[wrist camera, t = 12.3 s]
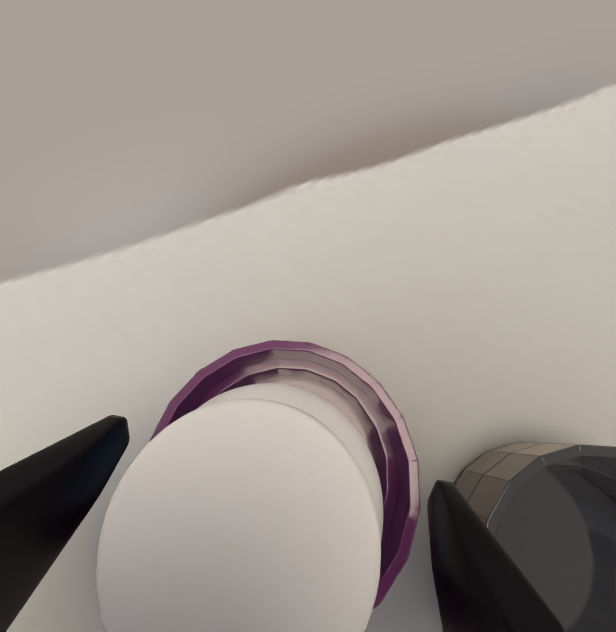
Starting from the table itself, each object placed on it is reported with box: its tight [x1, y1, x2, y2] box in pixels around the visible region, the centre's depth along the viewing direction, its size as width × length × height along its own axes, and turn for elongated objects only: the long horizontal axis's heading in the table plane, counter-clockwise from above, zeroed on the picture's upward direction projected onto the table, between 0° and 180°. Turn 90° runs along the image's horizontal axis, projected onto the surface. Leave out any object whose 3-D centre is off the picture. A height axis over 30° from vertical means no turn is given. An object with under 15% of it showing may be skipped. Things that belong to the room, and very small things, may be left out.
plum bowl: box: [149, 340, 420, 609], centre depth 14 cm, size 10×10×4 cm
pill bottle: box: [96, 383, 383, 632], centre depth 11 cm, size 6×6×11 cm
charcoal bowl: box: [455, 442, 616, 632], centre depth 13 cm, size 10×10×4 cm
